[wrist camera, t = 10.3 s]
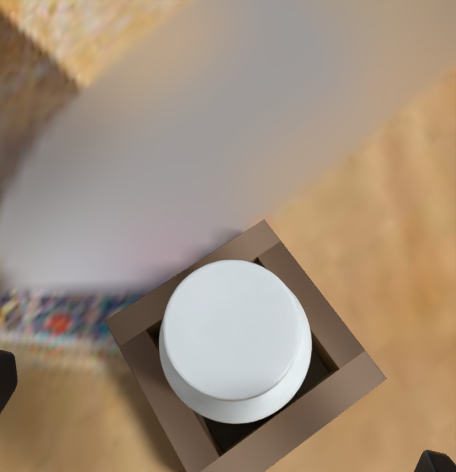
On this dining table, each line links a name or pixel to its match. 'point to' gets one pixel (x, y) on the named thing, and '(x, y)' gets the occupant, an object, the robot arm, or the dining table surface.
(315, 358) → the socket block
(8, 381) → the robot arm
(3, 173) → the dining table surface
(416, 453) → the dining table surface
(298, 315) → the supplement bottle
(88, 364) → the dining table surface
